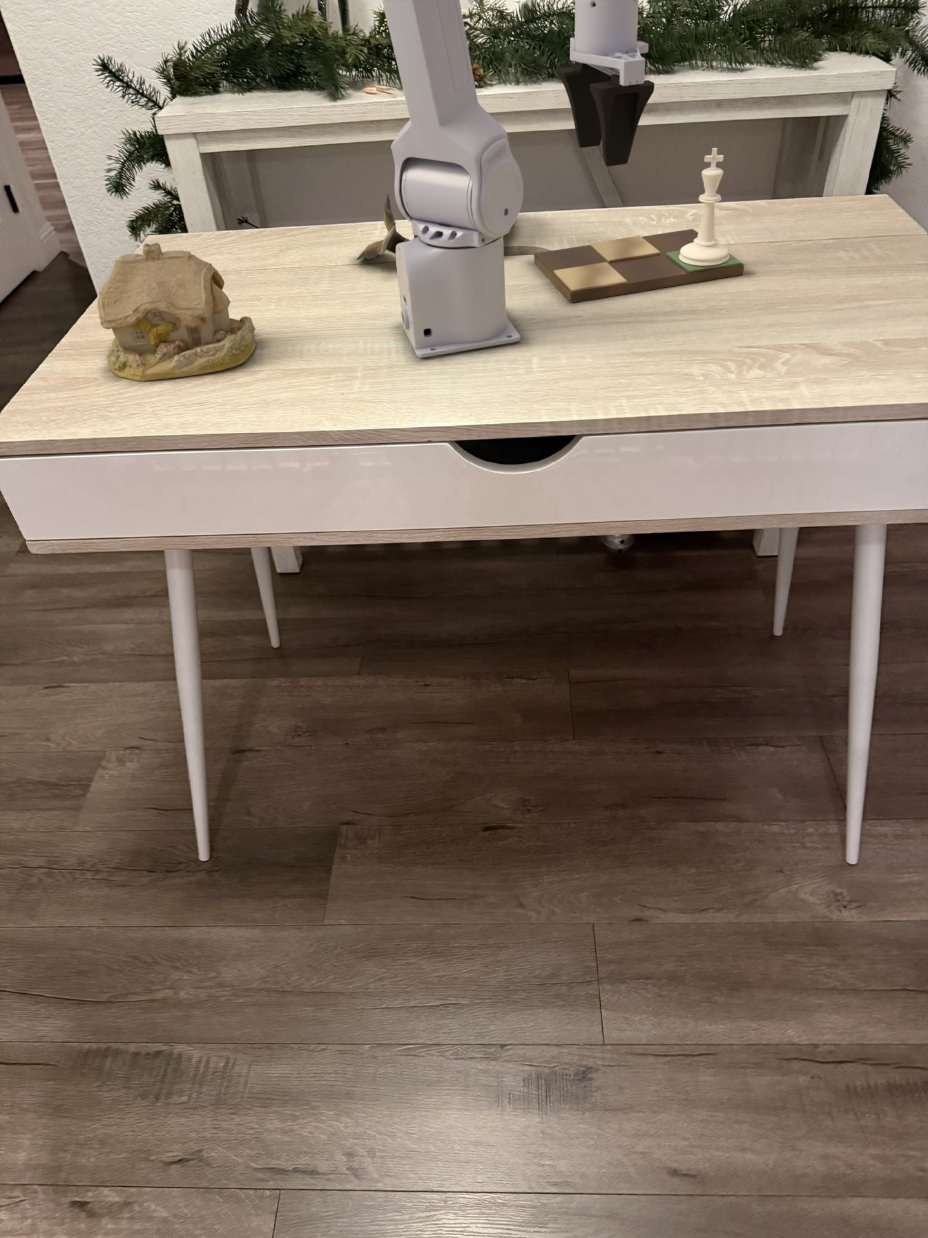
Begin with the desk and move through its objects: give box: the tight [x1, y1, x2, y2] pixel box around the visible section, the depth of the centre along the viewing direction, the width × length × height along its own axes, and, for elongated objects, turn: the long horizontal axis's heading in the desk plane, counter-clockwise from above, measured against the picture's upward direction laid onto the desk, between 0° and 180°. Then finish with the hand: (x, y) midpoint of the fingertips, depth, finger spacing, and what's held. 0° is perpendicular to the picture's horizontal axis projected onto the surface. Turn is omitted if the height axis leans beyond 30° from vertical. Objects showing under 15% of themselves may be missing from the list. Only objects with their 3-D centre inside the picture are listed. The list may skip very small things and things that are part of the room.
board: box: [533, 228, 745, 303], centre depth 94 cm, size 18×12×1 cm, turn 104°
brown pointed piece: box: [356, 193, 418, 261], centre depth 98 cm, size 8×7×9 cm
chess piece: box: [679, 147, 730, 266], centre depth 89 cm, size 5×5×10 cm
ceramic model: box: [96, 242, 256, 382], centre depth 82 cm, size 14×11×10 cm
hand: (602, 154), depth 91 cm, fingers open, 7 cm apart
